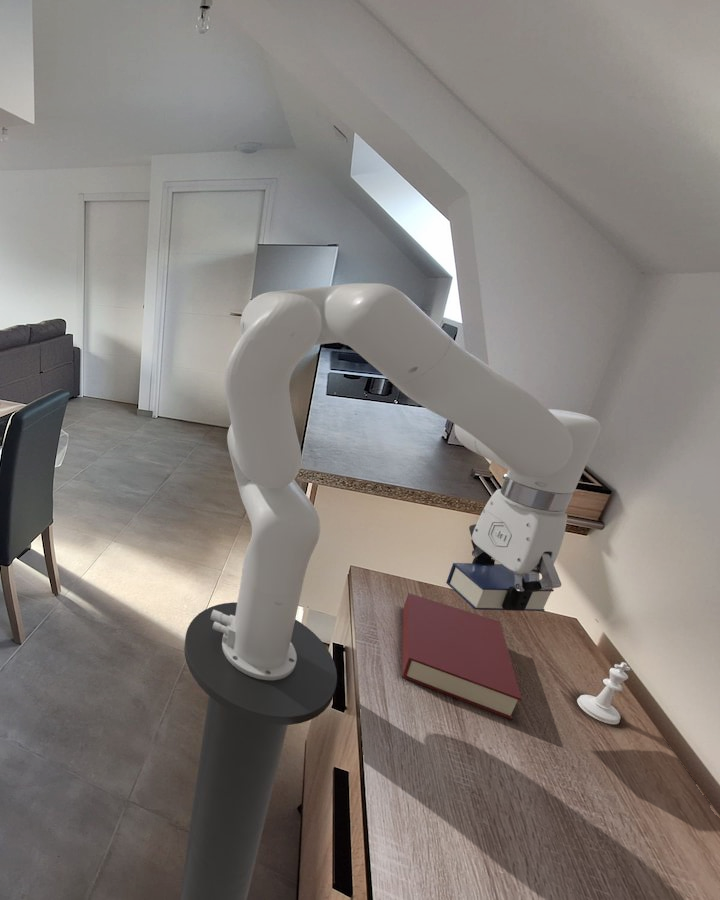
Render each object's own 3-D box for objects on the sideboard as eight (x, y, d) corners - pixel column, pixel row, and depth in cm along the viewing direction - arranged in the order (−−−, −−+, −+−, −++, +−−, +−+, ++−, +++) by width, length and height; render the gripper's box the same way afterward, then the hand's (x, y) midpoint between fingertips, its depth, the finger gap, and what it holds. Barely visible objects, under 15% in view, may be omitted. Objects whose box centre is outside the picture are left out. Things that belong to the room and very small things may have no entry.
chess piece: (627, 728, 70) (657, 680, 67) (588, 719, 71) (615, 671, 68) (606, 702, 75) (633, 655, 71) (570, 693, 76) (594, 647, 72)
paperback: (474, 609, 70) (483, 588, 68) (445, 582, 76) (453, 562, 74) (544, 611, 70) (554, 590, 69) (509, 584, 76) (518, 564, 75)
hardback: (512, 720, 71) (522, 699, 69) (402, 677, 78) (408, 657, 76) (492, 640, 87) (500, 621, 85) (402, 610, 94) (408, 592, 92)
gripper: (466, 469, 74) (435, 561, 81) (564, 523, 58) (515, 632, 64) (511, 471, 74) (476, 562, 81) (621, 524, 58) (567, 633, 65)
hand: (494, 592), depth 73 cm, fingers closed on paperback, 6 cm apart
